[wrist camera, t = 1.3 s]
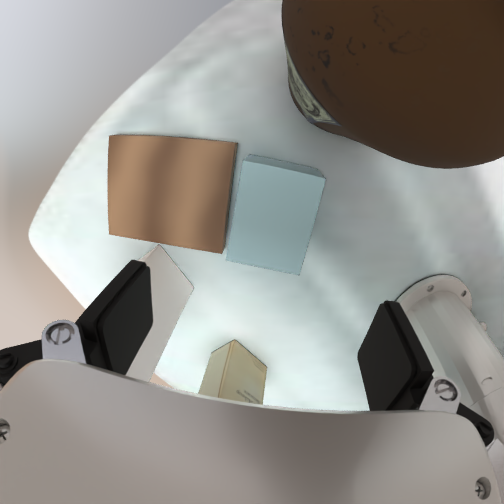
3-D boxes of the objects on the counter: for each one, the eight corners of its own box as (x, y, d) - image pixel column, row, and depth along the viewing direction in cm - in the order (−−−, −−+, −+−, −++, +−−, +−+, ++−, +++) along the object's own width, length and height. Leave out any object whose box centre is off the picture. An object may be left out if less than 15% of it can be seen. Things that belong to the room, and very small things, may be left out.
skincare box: (267, 366, 34) (260, 449, 23) (242, 379, 36) (229, 457, 25) (233, 337, 33) (214, 424, 22) (208, 352, 34) (183, 433, 23)
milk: (125, 269, 30) (1, 419, 10) (160, 242, 28) (18, 417, 8) (158, 309, 32) (68, 473, 12) (196, 287, 30) (106, 483, 10)
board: (237, 142, 24) (235, 143, 22) (224, 247, 28) (221, 253, 26) (117, 134, 24) (109, 135, 23) (116, 229, 28) (109, 234, 27)
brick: (317, 168, 24) (325, 178, 20) (296, 249, 27) (299, 275, 23) (249, 154, 24) (243, 160, 20) (234, 237, 28) (225, 260, 23)
